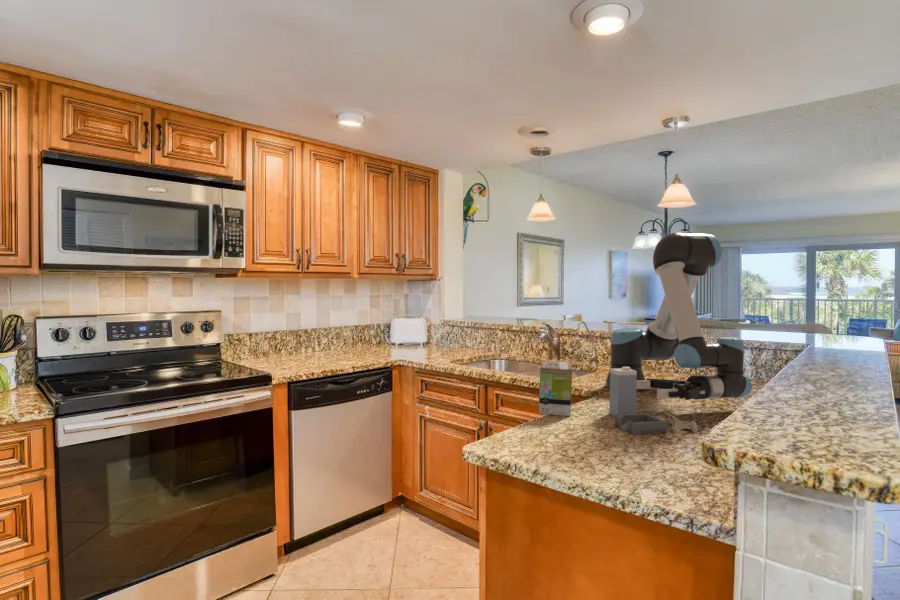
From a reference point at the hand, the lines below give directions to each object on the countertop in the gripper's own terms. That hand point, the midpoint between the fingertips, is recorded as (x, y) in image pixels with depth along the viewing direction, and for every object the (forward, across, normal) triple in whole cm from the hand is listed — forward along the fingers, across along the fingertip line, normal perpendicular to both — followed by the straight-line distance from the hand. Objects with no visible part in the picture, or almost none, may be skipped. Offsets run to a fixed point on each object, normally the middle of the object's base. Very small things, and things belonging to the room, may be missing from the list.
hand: (644, 389), depth 151 cm
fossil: (-3, -14, -9) cm, 17 cm away
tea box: (+25, +11, -8) cm, 28 cm away
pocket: (+10, -13, -8) cm, 18 cm away
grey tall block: (+7, +1, -8) cm, 11 cm away
